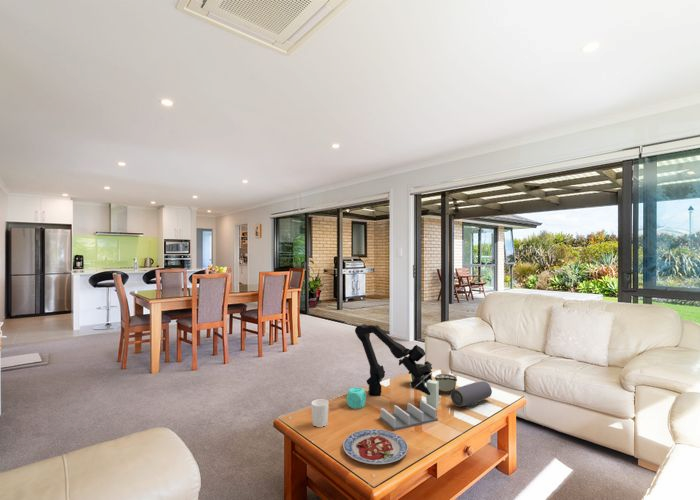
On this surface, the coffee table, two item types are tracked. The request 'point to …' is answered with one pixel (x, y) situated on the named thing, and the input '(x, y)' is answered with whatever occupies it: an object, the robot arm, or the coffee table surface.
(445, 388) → the food container
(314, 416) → the white cup
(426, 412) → the dish rack
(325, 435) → the coffee table surface
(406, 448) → the ceramic plate
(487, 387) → the bluetooth speaker
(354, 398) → the decorative dice
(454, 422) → the coffee table surface
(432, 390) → the cream white box
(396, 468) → the coffee table surface
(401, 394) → the coffee table surface
